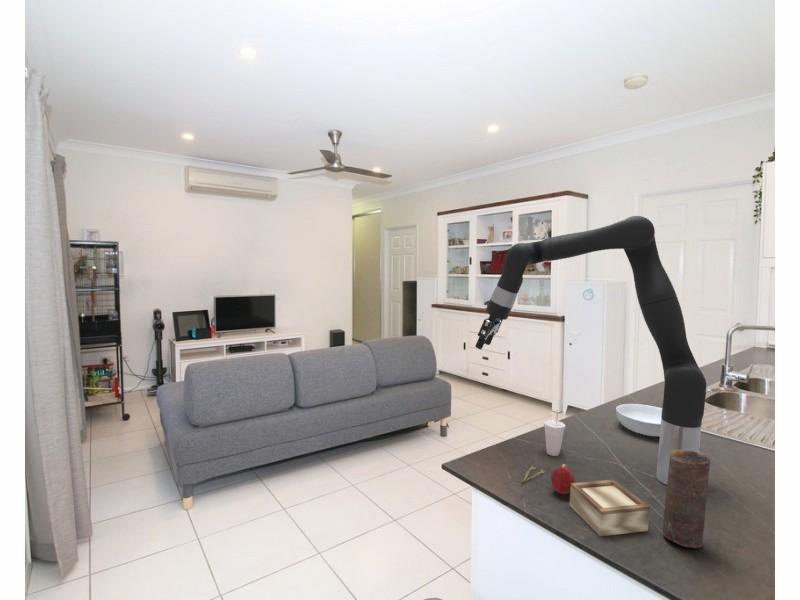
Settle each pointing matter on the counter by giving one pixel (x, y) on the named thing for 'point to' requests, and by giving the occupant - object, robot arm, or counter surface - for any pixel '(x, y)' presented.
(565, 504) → the counter surface
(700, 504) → the rusty metal cylinder
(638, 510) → the pedestal
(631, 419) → the serving bowl
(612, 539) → the counter surface
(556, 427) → the smoothie
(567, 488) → the pomegranate
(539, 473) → the tongs
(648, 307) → the robot arm
